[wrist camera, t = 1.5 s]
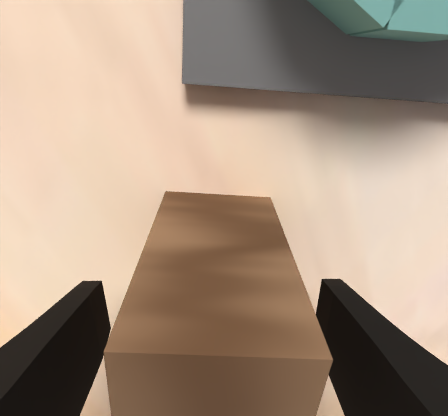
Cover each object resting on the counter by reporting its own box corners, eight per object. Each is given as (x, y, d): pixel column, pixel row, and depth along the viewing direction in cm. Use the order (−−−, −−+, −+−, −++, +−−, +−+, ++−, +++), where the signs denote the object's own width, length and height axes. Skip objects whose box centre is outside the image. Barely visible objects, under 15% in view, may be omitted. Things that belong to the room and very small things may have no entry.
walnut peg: (270, 197, 13) (332, 359, 6) (258, 281, 15) (295, 481, 8) (165, 191, 13) (103, 352, 6) (166, 277, 15) (119, 478, 8)
